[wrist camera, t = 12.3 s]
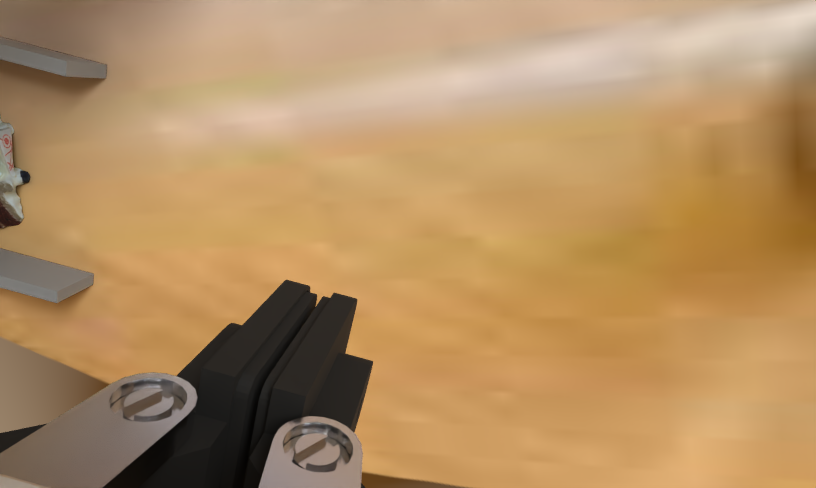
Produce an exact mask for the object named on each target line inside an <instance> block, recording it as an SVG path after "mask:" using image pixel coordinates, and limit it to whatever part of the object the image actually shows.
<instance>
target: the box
mask: <svg viewBox="0 0 816 488" xmlns="http://www.w3.org/2000/svg"><path fill="white" fill-rule="evenodd" d="M0 59H1V60H5V61H9V62H13V63H16V64H20V65H24V66H28V67H32V68H35V69H39V70H43V71H47V72H51V73H54V74H58V75H62V76H66V77H85V78H106V71H107V65H106V64H102V63H99V62H95V61H91V60H87V59H83V58H79V57H76V56H72V55H68V54H64V53H60V52H57V51H53V50H49V49H45V48H41V47H38V46H34V45H30V44H26V43H22V42H18V41H15V40H11V39H7V38H3V37H0ZM93 277H94V274H92V273H89V272H85V271H81V270H78V269H74V268H70V267H67V266H63V265H59V264H56V263H52V262H48V261H45V260H41V259H37V258H34V257H30V256H27V255H23V254H19V253H16V252H12V251H8V250H5V249H1V248H0V288H4V289H7V290H11V291H15V292H18V293H22V294H25V295H29V296H33V297H36V298H40V299H44V300H47V301H51V302H55V303H58V302H60V301H62V300H64V299H66V298H68V297H70V296H72V295H74V294H76V293H78V292H80V291H82V290H84V289H86V288H87V287H89V286H91V285H93Z"/></svg>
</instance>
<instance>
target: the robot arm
mask: <svg viewBox="0 0 816 488" xmlns="http://www.w3.org/2000/svg"><path fill="white" fill-rule="evenodd" d="M316 301H317V294H313V293H310V286H308V285H304V284H300V283H297V282H293V281H289V280H285V281H284V282H283V283H282V284H281V285H280V286H279V287H278V288H277V289H276V291H275V292H274V293H273V294H272V295H271V296H270V297H269V298H268V299H267V300H266V301H265V302H264V303H263V304H262V305H261V306H260V307H259V308H258V309H257V311H256V312H255V313H254V314H253V315H252V316H251V317H250V318H249V319H248V320H247V321H246V322H245V323H244V324H243V325H239V324H235V323H231V324H229V325H228V326H227V327H226V328H224V329H223V330H222V331H221V332H220V333H219V334H218V335H217V336H216V337H215V338H214V339H213V340H212V341H211V342H210V343H209V344H208V345H207V346H206V347H205V348H204V349H203V350H202V351H201V352H200V353H199V354H198V355H197V356H196V357H195V358H194V359H193V360H192V361H191V362H190V363H189V364H188V365H187V366H186V367H185V368H184V369H183V370H182V371H181V372H180V373H179V374H178V375H177V376H174V375H170V374H164V373H142V374H136V375H132V376H128V377H124V378H122V379H120V380H118V381H116V382H114V383H112V384H110V385H109V386H107V387H105V388H104V389H102V390H101V391H99V392H98V393H96V394H94V395H93V396H91V397H89V398H88V399H86V400H85V401H83V402H82V403H80V404H78V405H77V406H75V407H73V408H72V409H70V410H69V411H67V412H66V413H64V414H62V415H61V416H59V417H58V418H56V419H54V420H53V421H51V422H50V423H48V424H44V425H38V426H34V427H29V428H24V429H19V430H14V431H9V432H5V433H0V488H365V487H364V486H363V484H362V483H361V473H362V455H363V452H362V446H361V442H360V441H359V439H358V437H357V436H356V434H355V433H354V432H355V428H356V425H357V422H358V418H359V415H360V411H361V408H362V404H363V400H364V397H365V393H366V389H367V385H368V381H369V377H370V373H371V369H372V365H373V361H370V360H366V359H363V358H359V357H355V356H352V355H348V354H345V352H346V348H347V343H348V339H349V335H350V331H351V326H352V322H353V318H354V314H355V310H356V305H357V299H356V298H352V297H348V296H345V295H341V294H337V293H333V295H332V296H331V298H328V297H324V296H323V297H322V299H321V300H320V302H319V303H318V304H317V306H316ZM315 306H316V307H315Z"/></svg>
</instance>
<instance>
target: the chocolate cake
mask: <svg viewBox="0 0 816 488" xmlns="http://www.w3.org/2000/svg"><path fill="white" fill-rule="evenodd" d="M13 133H14V129H13V127H12V126H11V125H10V124H9V123H3V122H2V120H1V116H0V228H4V227H6V226H14V225H19V224H20V223H21V222H22V219H23V218H24V216H23V213H22V206H21V204H20V197H19V196H18V195H17V193H16V186H18V185H23V184H24V183H28V182H29V180H30V175H29V173H28V172H26V171H23V170H21V169H19V168H15V167H14V165H13V157H12V156H13V153H12V134H13Z"/></svg>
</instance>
